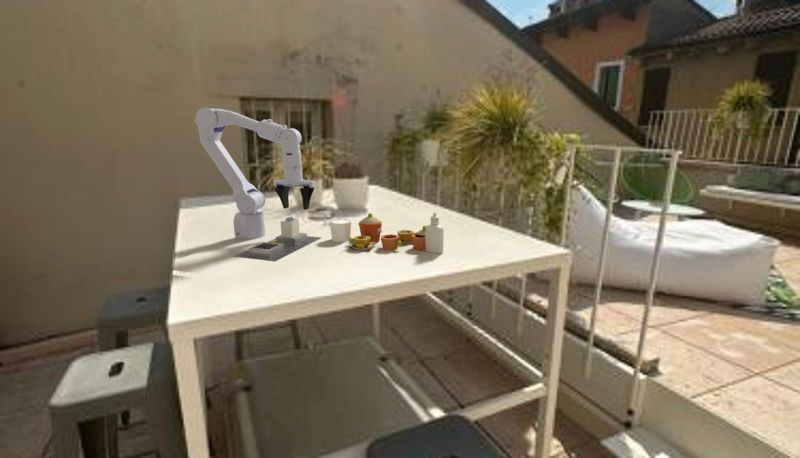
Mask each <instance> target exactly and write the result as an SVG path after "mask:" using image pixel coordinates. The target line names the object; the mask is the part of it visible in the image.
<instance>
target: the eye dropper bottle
mask: <svg viewBox="0 0 800 458" xmlns="http://www.w3.org/2000/svg"><path fill="white" fill-rule="evenodd" d="M439 219H440V217H439V216H438V215H437V212H435V211H434V212H433V214H432V216H430V223H429V224H427V225H425V226H426V232H425V250H424V251H426V252H428V253H432V254H438V255H439V254H441V253H443V252H444V237H445V236H444V228H443V226H442V225H440V224H439V223H440V221H439Z"/></svg>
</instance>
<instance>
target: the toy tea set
mask: <svg viewBox="0 0 800 458" xmlns="http://www.w3.org/2000/svg"><path fill="white" fill-rule="evenodd" d="M357 225H358V227H359V232H360V235H357V236H353V237H350V238H349V240H348V241H347V242H348V243H351V244H352V243H353V244H352V245H351V249H352V250H355V251H369V250H371V249H373V247H374V246H375V245H376V243H377V244H378V242H380V241H381V246H382V249H383V250H384V251H395V250H398V247H400V246H402V245H411V244H412V246H413V247H412V248H413V249H414V250H416V251H426V250H425V232H426V226H427V225H423V226H422V229H420V230H418V231H417V232H414V230H411V229H402V230H398V231H397V234H392V233H391V234H389V233H388V234H383V235H381V234H382V232H383V230H382V225H383V223H382V221H381V220H379V219H378V218H377V217H376V216H373V213H370V212H369V213H368V214H367V216H366V217H364V218H362V219H361V220H360V221H359V222H358V224H357Z"/></svg>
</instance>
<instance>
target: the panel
mask: <svg viewBox="0 0 800 458" xmlns="http://www.w3.org/2000/svg"><path fill="white" fill-rule="evenodd" d="M299 233H300V236H298V237H295V238H288V237H282V235H281V234H279V235H278V236H275V238H274V239H271V240H269V241H267V242H266V241H265V242H264V241H263V242H260V243H258V244H255V245H254V246H251V247H248V249H247V250H245V251H242V252H241V253H238V254H236V255H232V256H233V257H234V258H242V259H251V260H260V261H267V262H276V261H279V260H281V259H282V258H285V257H287V256H288V255H291V254H293V253H295V252H297V251H299V250H300V249H303V248H304V247H307V246H309V245H311V244H312V243H315V242H317V241H318V240H321V239H322V237H319V236H308V233H305V232H299Z"/></svg>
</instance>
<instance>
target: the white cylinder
mask: <svg viewBox="0 0 800 458" xmlns="http://www.w3.org/2000/svg"><path fill="white" fill-rule="evenodd" d="M329 226H330V233H331V240H332V241H333V242H337V243H343V242H345V243H346V242H349V241H348V240H349V238H351V235H352V234H351V233H352V221H351V220H349V219H333V220H331V221H330V222H329Z"/></svg>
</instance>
